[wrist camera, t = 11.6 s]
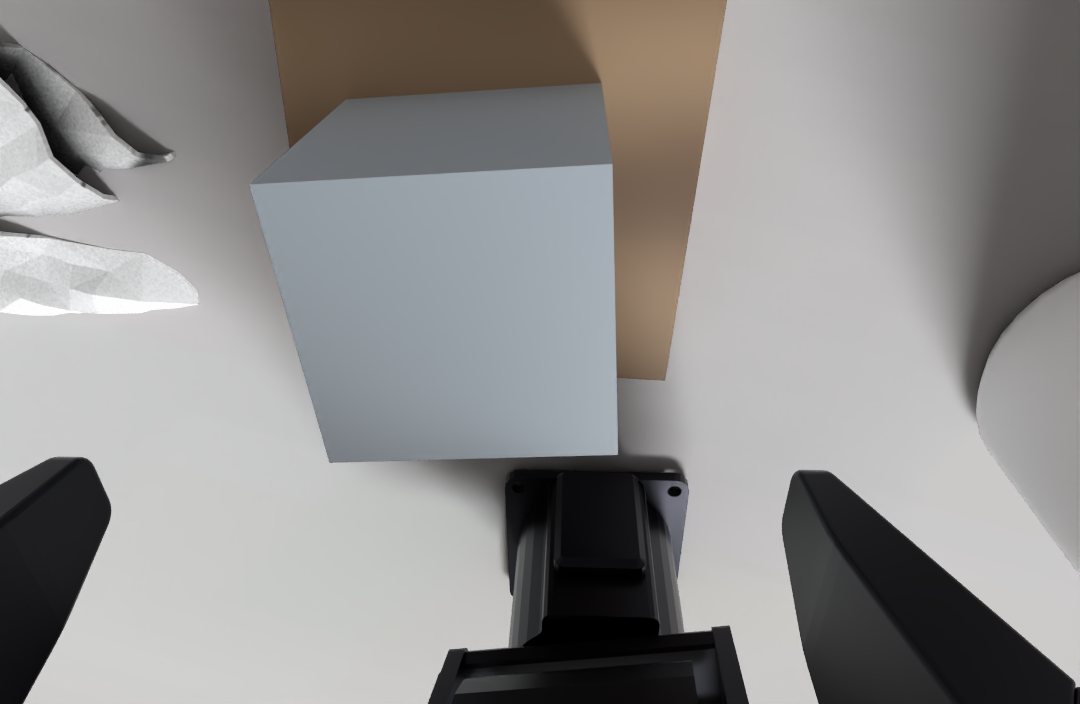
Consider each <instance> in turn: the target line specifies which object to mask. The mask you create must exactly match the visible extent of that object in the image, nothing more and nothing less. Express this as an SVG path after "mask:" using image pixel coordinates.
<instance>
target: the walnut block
mask: <svg viewBox="0 0 1080 704" xmlns="http://www.w3.org/2000/svg"><path fill="white" fill-rule="evenodd" d="M726 3H727V0H269V5H270V12H271V19H272V26H273V33H274V40H275V47H276V54H277V61H278V68H279V75H280V82H281V89H282V97H283V104H284V111H285V118H286V125H287V132H288V139H289V146H290V148H291V147H292V146H294V145H295V144H296V143H297V142H298V141H299V140H300V139H301V138H303V137H304V136H305V135H306V134H307V133H308V132H309V131H311V130H312V129H313V128H314V127H315V126H316V125H317V124H319V123H320V122H321V121H322V120H323V119H324V118H325V117H327V116H328V115H329V114H330V113H331V112H332V111H333V110H335V109H336V108H337V107H338V106H339V105H340V104H341V103H342V102H344V101H345V100H346V99H360V98H375V97H391V96H406V95H421V94H437V93H452V92H468V91H483V90H499V89H514V88H530V87H545V86H561V85H576V84H592V83H602V88H603V96H604V103H605V111H606V119H607V126H608V134H609V141H610V149H611V157H612V165H613V217H614V268H615V320H616V371H617V378H630V379H647V380H663V381H665V377H666V371H667V365H668V359H669V352H670V346H671V340H672V334H673V328H674V322H675V316H676V310H677V303H678V297H679V291H680V285H681V279H682V273H683V267H684V260H685V254H686V248H687V242H688V236H689V230H690V224H691V218H692V211H693V205H694V199H695V193H696V187H697V181H698V175H699V168H700V162H701V156H702V150H703V144H704V138H705V132H706V126H707V119H708V113H709V107H710V101H711V95H712V89H713V83H714V77H715V70H716V64H717V58H718V52H719V46H720V40H721V34H722V27H723V21H724V15H725V9H726Z"/></svg>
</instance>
